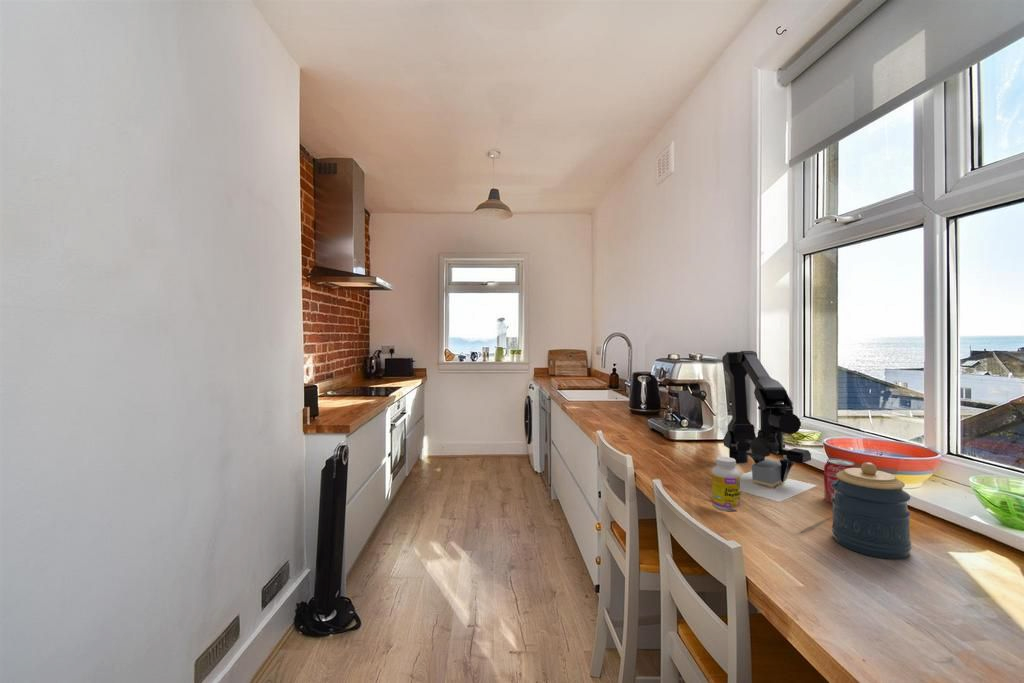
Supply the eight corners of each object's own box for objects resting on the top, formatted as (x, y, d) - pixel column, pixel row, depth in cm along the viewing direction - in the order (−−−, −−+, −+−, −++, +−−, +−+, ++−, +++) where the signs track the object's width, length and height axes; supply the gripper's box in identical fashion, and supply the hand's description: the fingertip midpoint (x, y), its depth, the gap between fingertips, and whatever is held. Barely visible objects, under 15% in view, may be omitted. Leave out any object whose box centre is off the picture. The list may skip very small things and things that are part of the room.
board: (754, 474, 140) (754, 470, 140) (817, 490, 125) (817, 485, 125) (714, 488, 128) (714, 483, 128) (779, 507, 113) (779, 501, 113)
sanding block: (767, 475, 132) (767, 459, 132) (787, 479, 128) (786, 463, 128) (752, 481, 127) (751, 465, 127) (772, 487, 123) (771, 469, 123)
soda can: (846, 502, 115) (845, 457, 115) (865, 513, 108) (864, 465, 108) (818, 502, 116) (817, 457, 116) (835, 512, 109) (834, 465, 109)
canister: (880, 565, 84) (879, 474, 84) (817, 536, 96) (816, 457, 96) (927, 555, 87) (926, 468, 87) (861, 528, 100) (859, 452, 100)
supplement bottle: (723, 513, 110) (722, 463, 110) (706, 504, 116) (706, 456, 116) (746, 511, 111) (745, 461, 111) (728, 501, 117) (728, 454, 117)
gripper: (726, 425, 132) (726, 476, 132) (792, 436, 116) (793, 493, 116) (745, 421, 138) (746, 469, 138) (811, 430, 122) (812, 485, 122)
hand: (772, 479), depth 128 cm, fingers closed on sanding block, 5 cm apart
